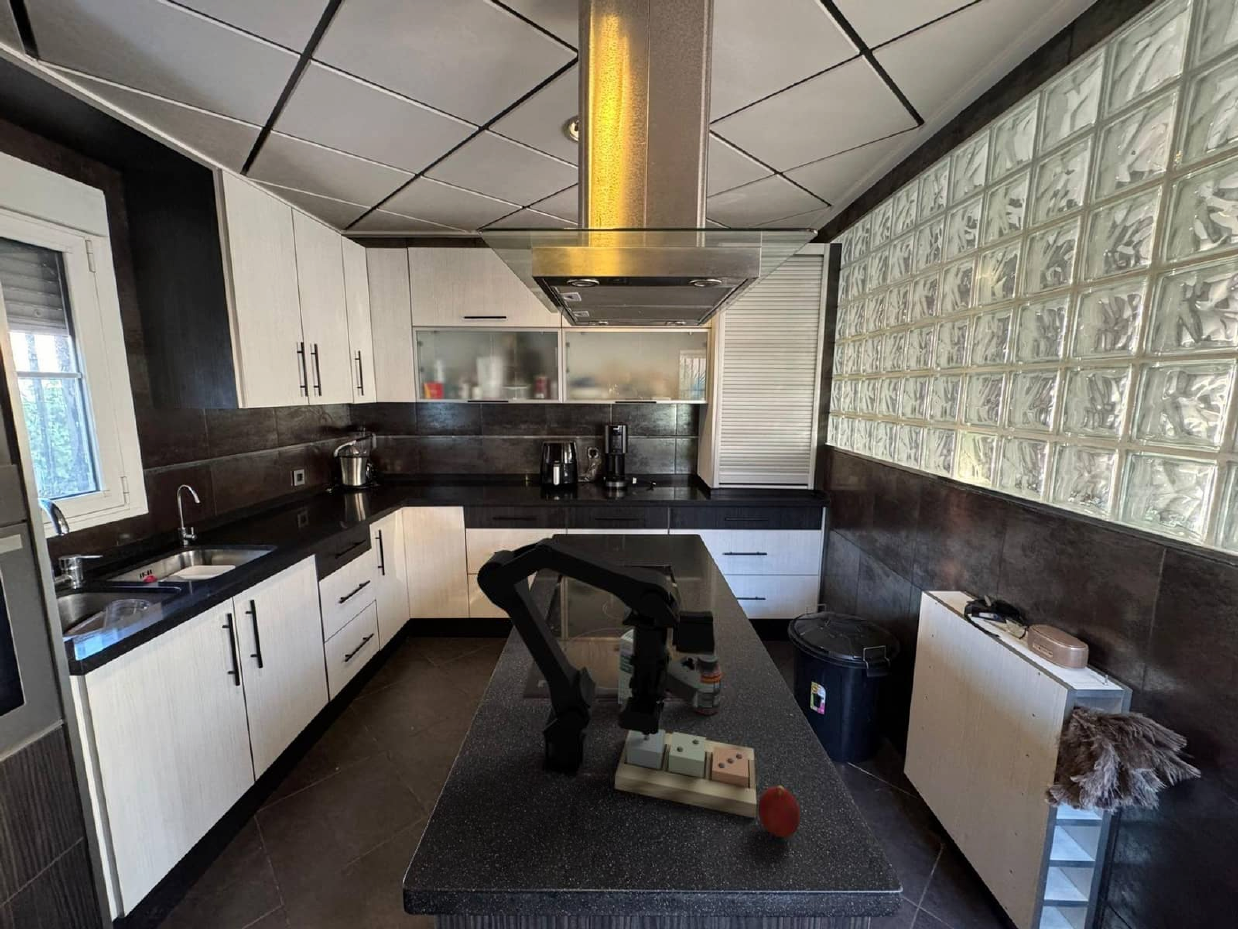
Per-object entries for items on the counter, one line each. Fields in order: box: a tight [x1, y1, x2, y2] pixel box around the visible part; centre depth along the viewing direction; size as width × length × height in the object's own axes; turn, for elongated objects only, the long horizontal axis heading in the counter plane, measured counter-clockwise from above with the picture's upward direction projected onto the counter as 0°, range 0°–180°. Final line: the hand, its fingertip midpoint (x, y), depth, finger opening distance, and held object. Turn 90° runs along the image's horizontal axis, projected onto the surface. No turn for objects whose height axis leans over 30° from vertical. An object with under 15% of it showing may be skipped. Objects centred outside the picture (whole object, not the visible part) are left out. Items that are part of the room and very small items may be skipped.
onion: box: [757, 785, 801, 838], centre depth 72 cm, size 6×6×8 cm
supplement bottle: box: [691, 652, 723, 716], centre depth 100 cm, size 6×6×11 cm
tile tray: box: [614, 730, 757, 819], centre depth 83 cm, size 22×12×2 cm, turn 77°
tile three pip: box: [712, 746, 748, 788], centre depth 81 cm, size 6×6×3 cm
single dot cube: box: [627, 728, 666, 769], centre depth 84 cm, size 6×6×3 cm
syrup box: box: [617, 629, 633, 705], centre depth 101 cm, size 6×6×14 cm
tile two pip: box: [668, 731, 707, 778], centre depth 82 cm, size 6×6×3 cm
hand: (646, 734), depth 84 cm, fingers closed
